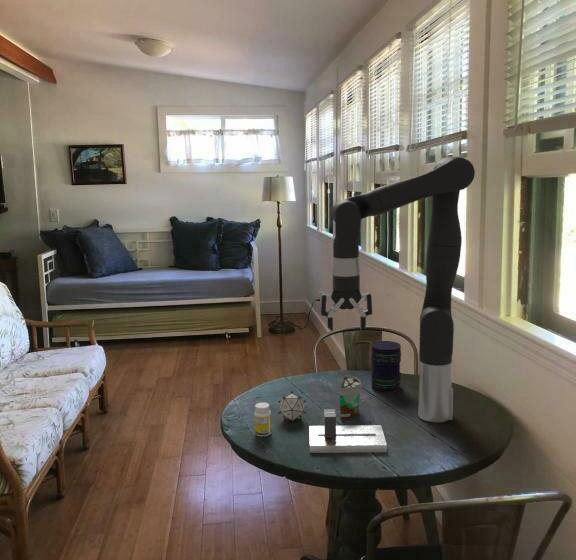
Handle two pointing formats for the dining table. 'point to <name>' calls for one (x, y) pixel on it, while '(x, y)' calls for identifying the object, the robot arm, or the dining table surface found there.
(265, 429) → the supplement bottle
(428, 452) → the dining table surface
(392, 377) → the storage jar
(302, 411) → the game die
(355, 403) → the food container
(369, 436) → the console board
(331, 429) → the fader knob
